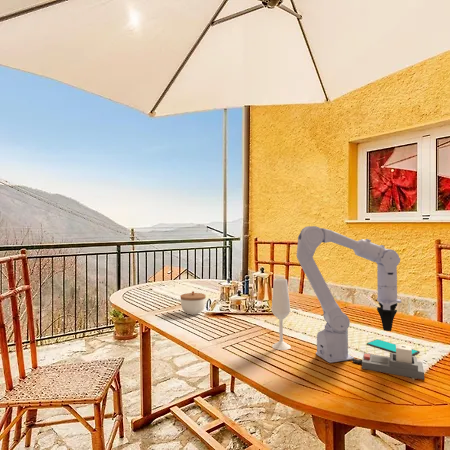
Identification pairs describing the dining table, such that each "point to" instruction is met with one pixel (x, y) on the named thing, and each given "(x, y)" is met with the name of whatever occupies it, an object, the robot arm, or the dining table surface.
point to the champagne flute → (280, 308)
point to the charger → (403, 353)
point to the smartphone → (387, 346)
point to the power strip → (392, 365)
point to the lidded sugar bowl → (193, 302)
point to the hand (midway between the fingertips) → (387, 327)
